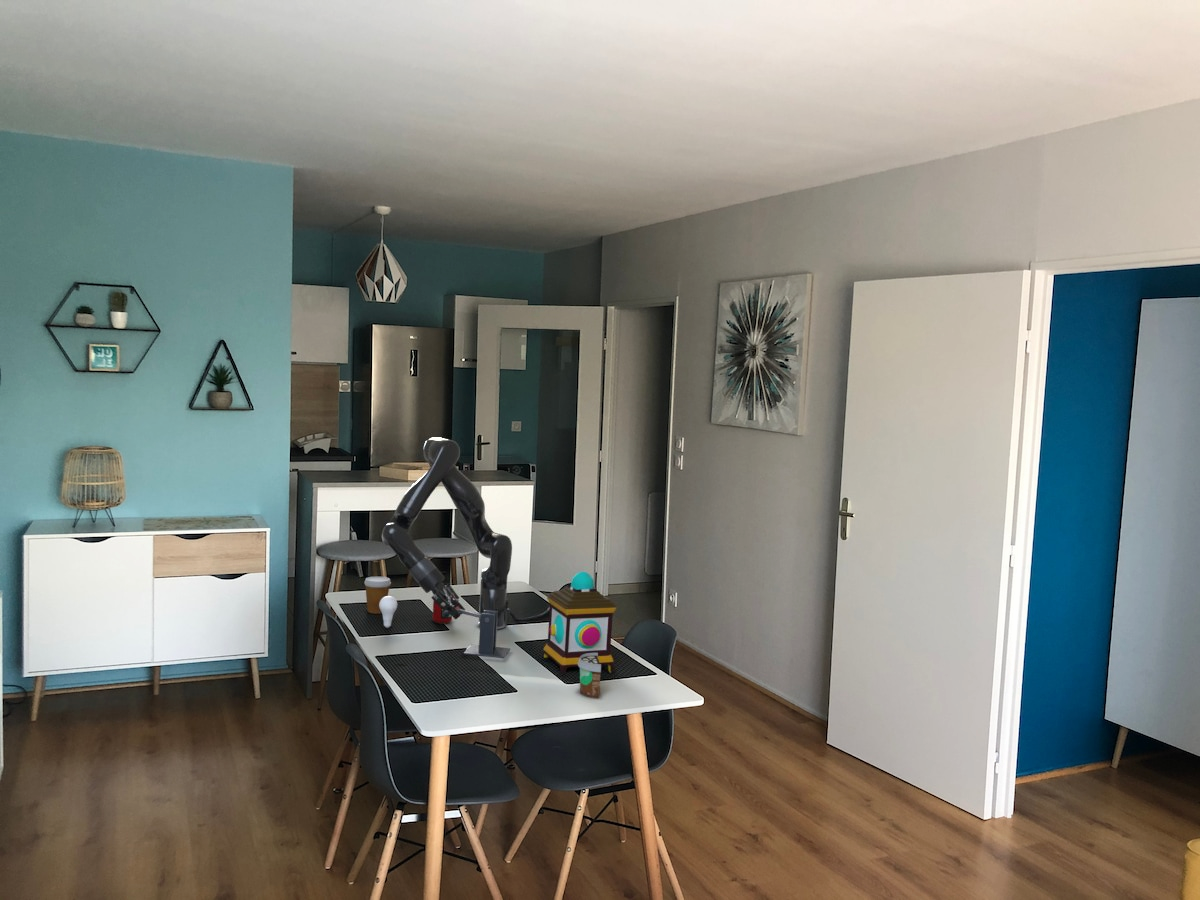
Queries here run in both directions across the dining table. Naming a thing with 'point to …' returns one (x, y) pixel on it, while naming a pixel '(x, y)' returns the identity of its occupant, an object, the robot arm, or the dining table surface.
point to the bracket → (487, 638)
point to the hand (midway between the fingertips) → (460, 614)
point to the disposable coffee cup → (376, 592)
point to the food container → (589, 675)
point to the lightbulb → (388, 609)
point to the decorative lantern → (579, 624)
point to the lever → (468, 612)
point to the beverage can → (440, 614)
